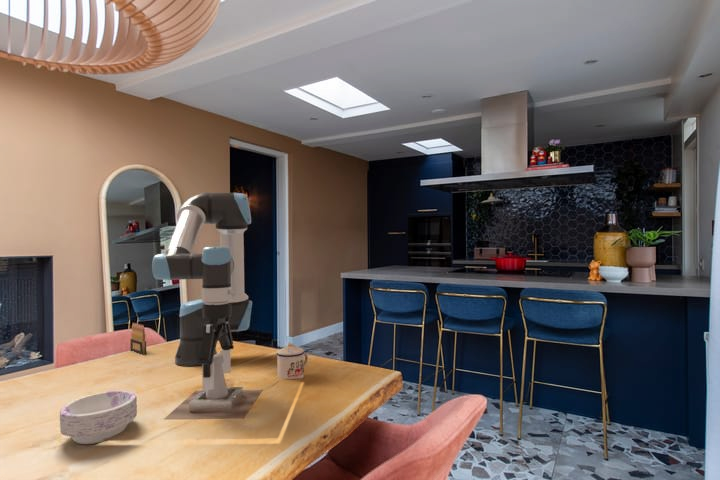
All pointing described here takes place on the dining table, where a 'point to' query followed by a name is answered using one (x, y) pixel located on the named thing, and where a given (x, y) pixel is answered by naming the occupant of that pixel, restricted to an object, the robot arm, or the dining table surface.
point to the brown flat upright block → (138, 339)
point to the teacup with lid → (291, 362)
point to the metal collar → (216, 401)
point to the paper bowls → (98, 416)
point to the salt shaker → (218, 381)
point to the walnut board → (236, 413)
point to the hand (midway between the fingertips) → (217, 380)
